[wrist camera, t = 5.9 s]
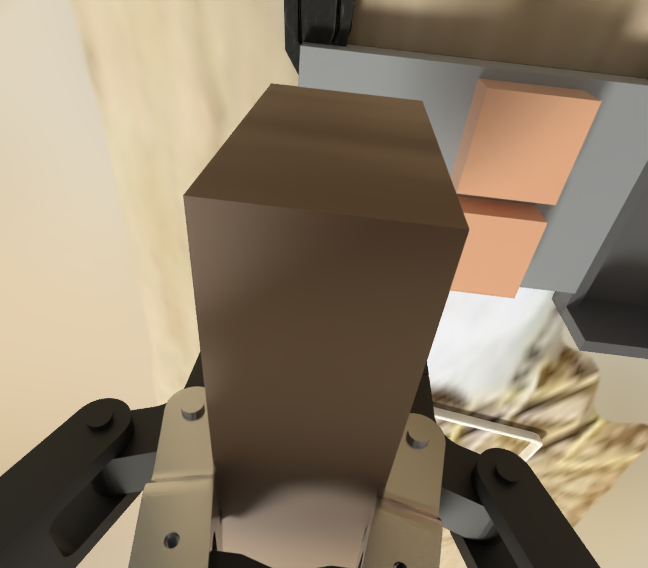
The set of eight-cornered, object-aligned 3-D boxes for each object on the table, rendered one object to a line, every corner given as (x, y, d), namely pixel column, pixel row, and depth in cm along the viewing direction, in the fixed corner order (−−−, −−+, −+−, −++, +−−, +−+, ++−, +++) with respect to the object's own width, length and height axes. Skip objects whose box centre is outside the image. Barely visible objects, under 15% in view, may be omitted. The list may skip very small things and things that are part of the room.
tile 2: (445, 194, 24) (451, 211, 23) (536, 205, 24) (547, 222, 23) (425, 268, 27) (428, 287, 26) (505, 278, 27) (514, 298, 26)
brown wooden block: (271, 83, 10) (183, 195, 5) (422, 100, 10) (469, 229, 5) (265, 439, 19) (229, 608, 14) (348, 450, 19) (341, 623, 14)
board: (305, 39, 22) (300, 45, 21) (663, 80, 22) (685, 90, 20) (293, 242, 29) (289, 258, 28) (563, 275, 29) (575, 293, 28)
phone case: (541, 429, 40) (382, 389, 38) (545, 443, 38) (382, 402, 37) (499, 471, 44) (355, 437, 42) (503, 485, 43) (355, 449, 41)
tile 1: (478, 77, 21) (487, 88, 19) (583, 90, 21) (601, 101, 19) (450, 177, 24) (456, 193, 22) (543, 188, 24) (555, 205, 22)
